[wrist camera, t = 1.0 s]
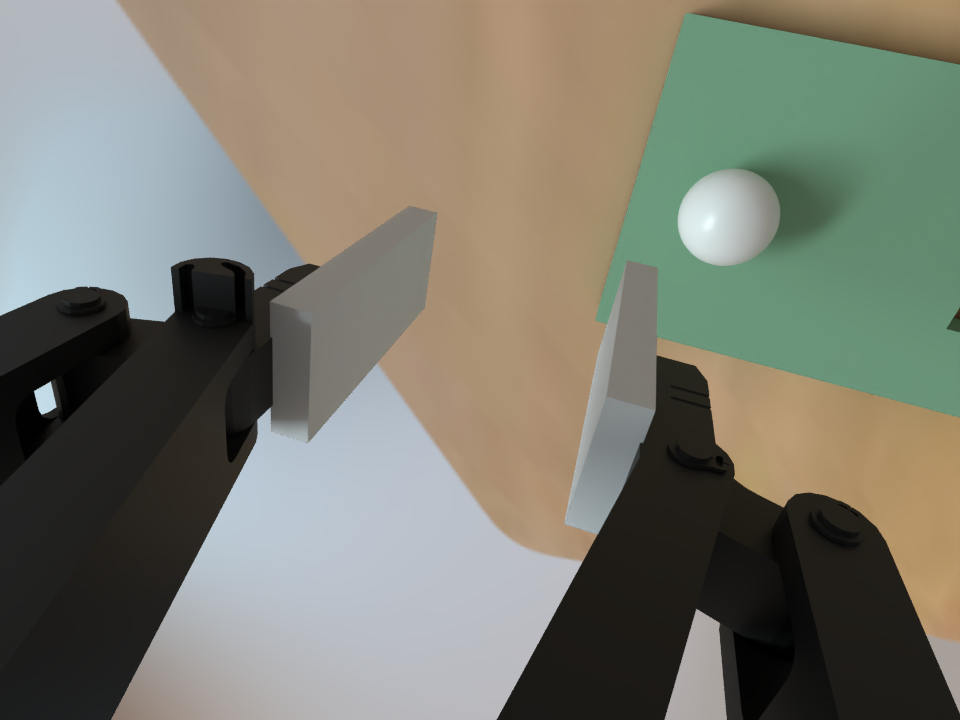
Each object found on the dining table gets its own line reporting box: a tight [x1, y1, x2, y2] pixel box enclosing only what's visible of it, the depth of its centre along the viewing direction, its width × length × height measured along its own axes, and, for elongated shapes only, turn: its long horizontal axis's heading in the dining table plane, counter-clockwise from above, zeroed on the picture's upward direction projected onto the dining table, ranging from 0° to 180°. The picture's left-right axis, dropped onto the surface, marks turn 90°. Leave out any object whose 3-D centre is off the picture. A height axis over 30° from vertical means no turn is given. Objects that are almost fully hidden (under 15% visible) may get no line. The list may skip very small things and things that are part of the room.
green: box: [596, 13, 960, 417], centre depth 24 cm, size 15×26×9 cm, turn 80°
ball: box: [678, 168, 780, 266], centre depth 26 cm, size 4×4×4 cm
